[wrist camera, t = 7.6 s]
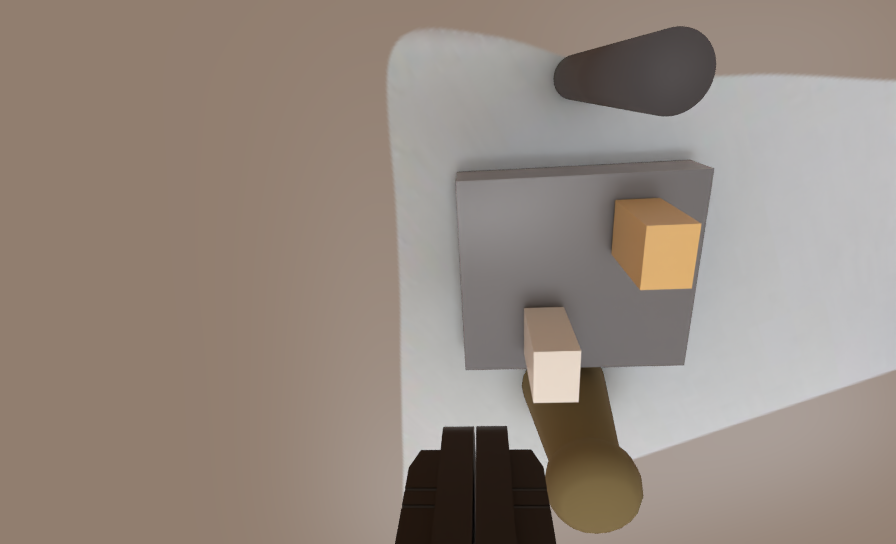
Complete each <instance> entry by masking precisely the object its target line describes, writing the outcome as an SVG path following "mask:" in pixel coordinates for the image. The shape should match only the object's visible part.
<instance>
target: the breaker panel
mask: <svg viewBox="0 0 896 544" xmlns="http://www.w3.org/2000/svg"><path fill="white" fill-rule="evenodd" d="M713 173H714V168H711V167H709V166H706V165H703V164H700V163H697V162H695V161H692V160H679V161H660V162H641V163H622V164H602V165H583V166H564V167H545V168H526V169H507V170H487V171H468V172H457V175H456V181H455V185H456V203H457V221H458V239H459V258H460V276H461V294H462V312H463V331H464V349H465V367H466V370H491V369H527V366H526V361H525V356H524V308H543V307H564V309H565V311H566V314H567V316H568V319H569V321H570V324H571V326H572V329H573V331H574V334H575V336H576V339H577V341H578V344H579V346H580V349H581V367H580V368H582V367H627V366H673V365H684V362H685V355H686V349H687V342H688V336H689V329H690V323H691V316H692V310H693V303H694V297H695V290H696V284H697V277H698V271H699V264H700V258H701V251H702V245H703V238H704V232H705V225H706V219H707V212H708V206H709V199H710V193H711V186H712V180H713ZM647 198H661V199H663V200H664V201H666V202H668V203H669V204H671V205H672V206H674V207H676V208H677V209H679V210H681V211H682V212H684V213H685V214H687V215H689V216H690V217H692V218H693V219H695V220H697V221H698V222H700V223H701V231H700V237H699V244H698V251H697V257H696V264H695V271H694V277H693V284H692V288H690V289H660V290H639V288H638V287H637V286H636V285H635V283H634V282H633V281H632V280H631V278H630V277H629V276H628V275H627V273H626V272H625V271H624V270H623V268H622V267H621V266H620V264H619V263H618V262H617V261H616V259H615V258H614V257H613V256H612V254H611V253H612V239H613V226H614V213H615V200H626V199H647Z"/></svg>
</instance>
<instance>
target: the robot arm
mask: <svg viewBox="0 0 896 544" xmlns="http://www.w3.org/2000/svg"><path fill="white" fill-rule="evenodd" d="M395 544H556V539H555V533H554V527H553V521H552V516H551V510H550V503H549V497H548V492H547V485H546V480H545V474H544V468H543V466H542V464H541V463H540V461H539V460H538V459H537V457H536V456H535V454H534V453H533V451H532V450H509V443H508V431H507V426H477V427H476V452H475V433H474V427H443V433H442V442H441V450H421V451H420V452H419V454H418V455H417V457H416V458H415V460H414V461H413V462H412V464H411V465H410V467H409V470H408V476H407V481H406V486H405V492H404V497H403V503H402V509H401V514H400V519H399V525H398V530H397V536H396V541H395Z"/></svg>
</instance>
